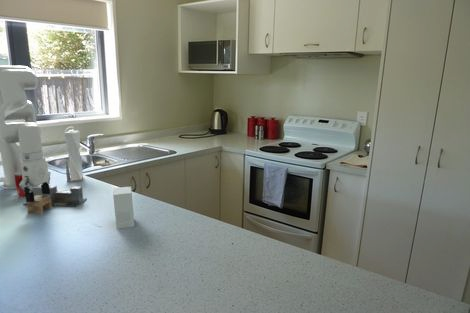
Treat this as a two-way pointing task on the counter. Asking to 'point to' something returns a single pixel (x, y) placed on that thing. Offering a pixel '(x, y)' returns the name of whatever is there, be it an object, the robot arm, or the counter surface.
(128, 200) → the small box
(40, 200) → the tan slotted wooden block
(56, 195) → the notched rail
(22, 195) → the canned food
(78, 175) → the skyscraper
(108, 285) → the counter surface
